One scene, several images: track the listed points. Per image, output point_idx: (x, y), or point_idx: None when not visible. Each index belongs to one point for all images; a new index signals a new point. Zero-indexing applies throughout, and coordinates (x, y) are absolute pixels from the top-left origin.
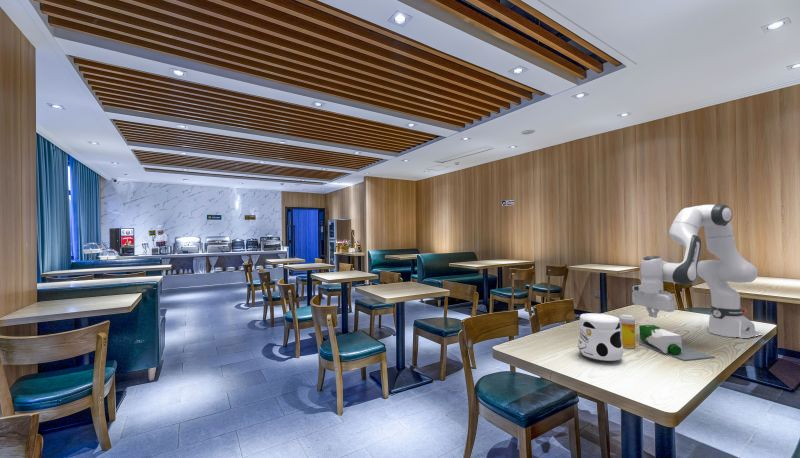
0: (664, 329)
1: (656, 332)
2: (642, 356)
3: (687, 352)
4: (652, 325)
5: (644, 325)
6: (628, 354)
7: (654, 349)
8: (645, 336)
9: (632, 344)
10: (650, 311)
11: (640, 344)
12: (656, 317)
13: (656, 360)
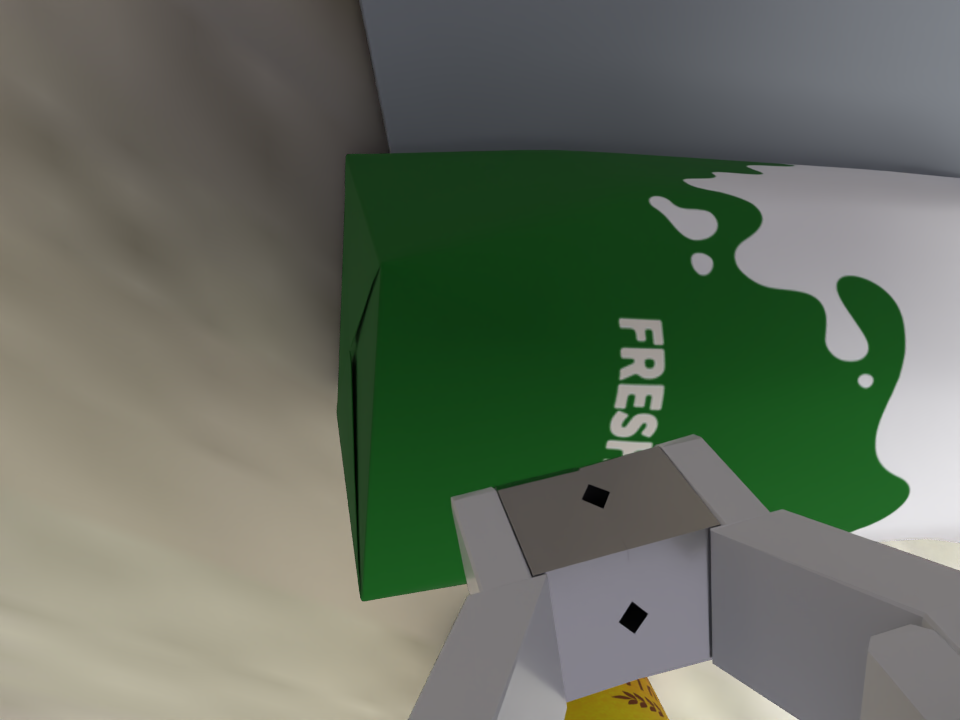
0: (948, 392)
1: (887, 540)
2: None
3: (953, 38)
4: (520, 395)
5: (428, 531)
6: (746, 716)
7: None
8: None
9: None
10: (546, 714)
11: None
12: (688, 444)
13: (950, 560)
